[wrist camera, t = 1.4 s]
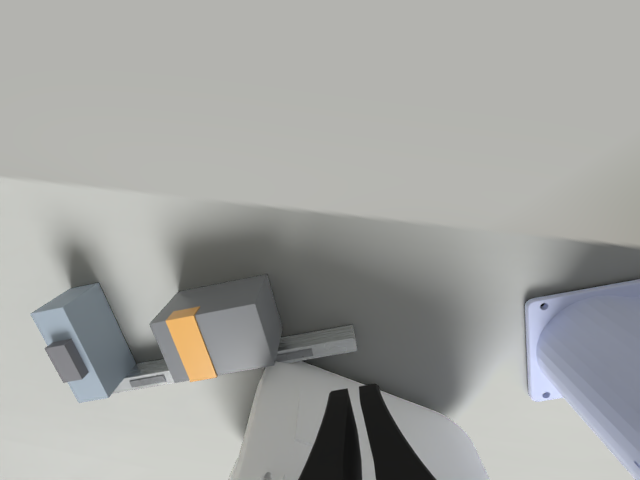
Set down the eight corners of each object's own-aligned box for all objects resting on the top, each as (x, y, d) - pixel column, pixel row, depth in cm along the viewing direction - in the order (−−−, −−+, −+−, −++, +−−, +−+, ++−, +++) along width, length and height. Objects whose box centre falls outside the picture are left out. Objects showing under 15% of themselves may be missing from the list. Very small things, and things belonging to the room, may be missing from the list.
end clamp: (98, 282, 22) (54, 312, 19) (136, 363, 24) (102, 405, 21) (70, 288, 22) (21, 319, 19) (109, 368, 24) (71, 410, 21)
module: (267, 272, 22) (254, 303, 18) (283, 327, 23) (274, 367, 19) (178, 290, 22) (148, 324, 19) (199, 342, 24) (174, 384, 20)
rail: (352, 324, 23) (354, 338, 21) (355, 337, 23) (357, 351, 22) (103, 369, 24) (88, 385, 23) (108, 381, 25) (94, 397, 23)
